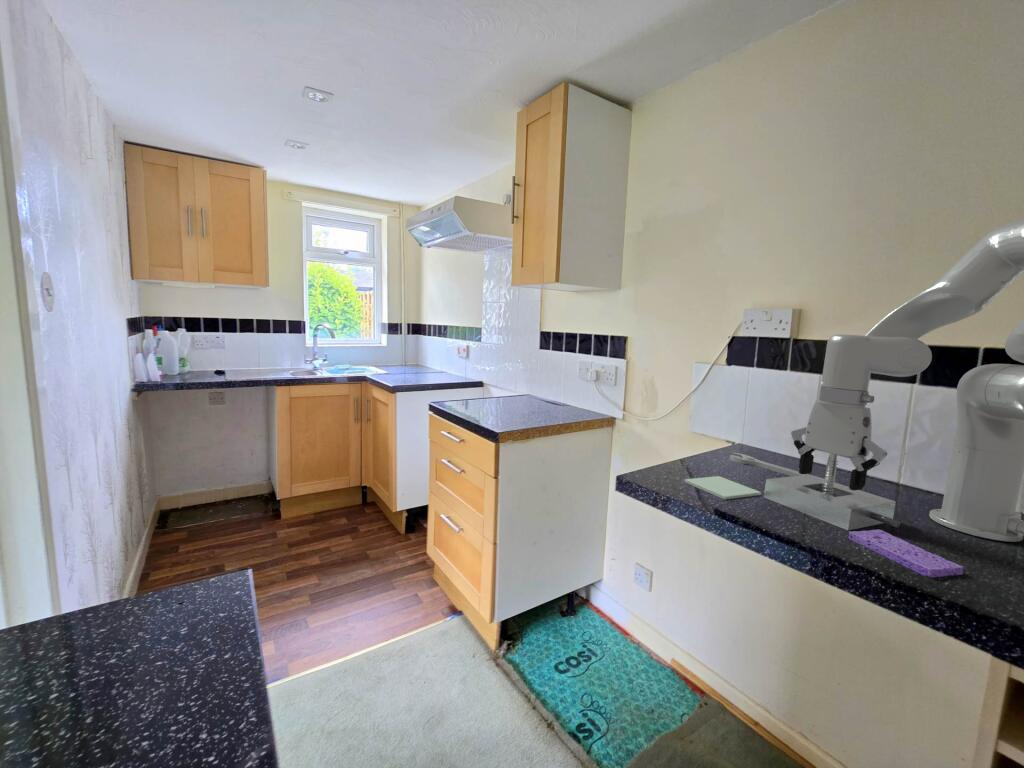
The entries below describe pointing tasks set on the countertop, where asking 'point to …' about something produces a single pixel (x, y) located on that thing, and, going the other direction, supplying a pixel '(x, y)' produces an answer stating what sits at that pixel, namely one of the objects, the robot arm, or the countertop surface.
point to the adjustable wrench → (763, 464)
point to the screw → (830, 474)
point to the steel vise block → (831, 502)
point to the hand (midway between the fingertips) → (829, 481)
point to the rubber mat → (722, 487)
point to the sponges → (906, 553)
